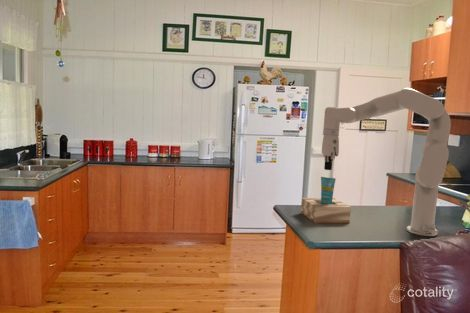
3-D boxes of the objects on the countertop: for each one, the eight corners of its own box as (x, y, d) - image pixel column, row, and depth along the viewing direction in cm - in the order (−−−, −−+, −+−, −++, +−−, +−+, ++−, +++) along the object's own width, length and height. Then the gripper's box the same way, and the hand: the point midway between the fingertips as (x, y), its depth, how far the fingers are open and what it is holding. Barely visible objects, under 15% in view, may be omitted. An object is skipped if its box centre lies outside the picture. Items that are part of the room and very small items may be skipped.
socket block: (349, 223, 183) (350, 206, 182) (314, 223, 180) (315, 206, 179) (333, 213, 201) (334, 198, 200) (300, 213, 197) (302, 198, 196)
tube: (316, 215, 189) (319, 177, 187) (319, 212, 194) (322, 175, 191) (331, 217, 186) (334, 178, 184) (334, 215, 190) (337, 177, 188)
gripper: (345, 134, 179) (341, 172, 181) (331, 132, 193) (328, 167, 195) (330, 133, 177) (327, 172, 179) (317, 131, 192) (314, 167, 194)
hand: (327, 169), depth 187 cm, fingers closed
